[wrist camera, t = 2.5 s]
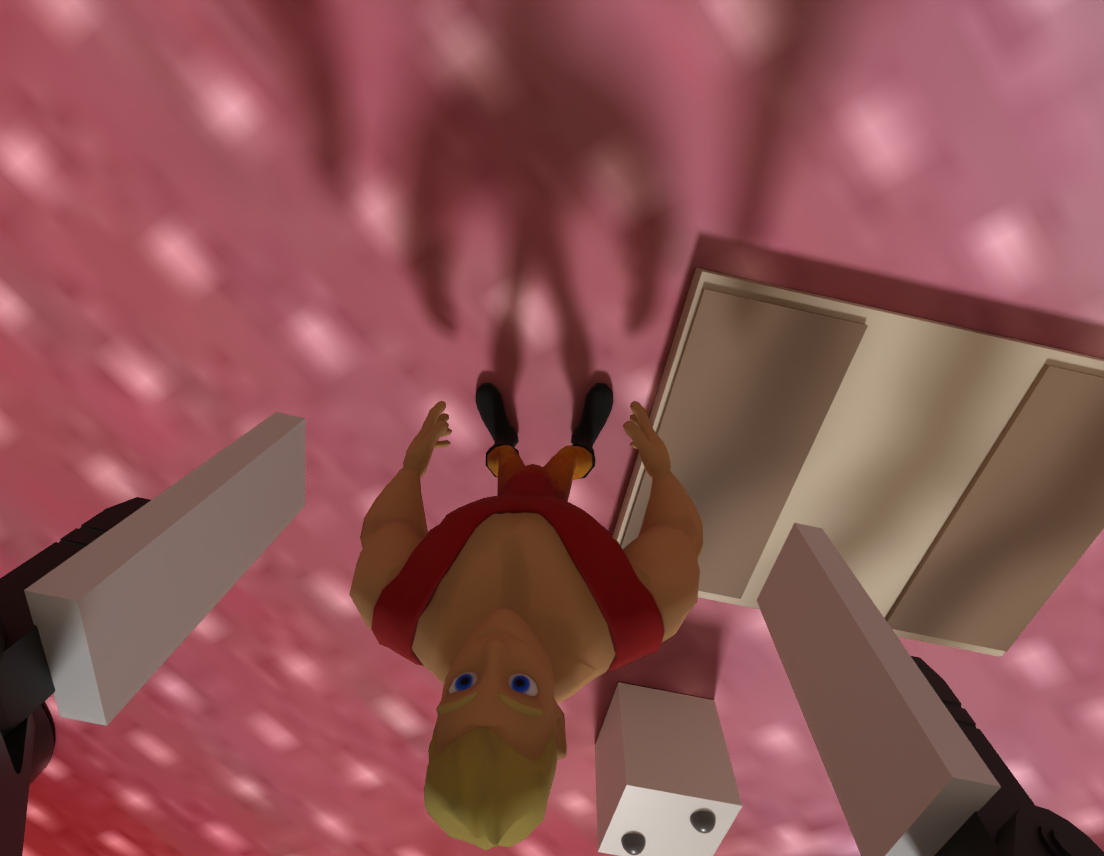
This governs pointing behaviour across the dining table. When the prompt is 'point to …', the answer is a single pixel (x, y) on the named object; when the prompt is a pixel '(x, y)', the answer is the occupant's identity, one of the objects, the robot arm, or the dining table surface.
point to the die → (662, 775)
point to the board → (879, 455)
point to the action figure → (520, 607)
